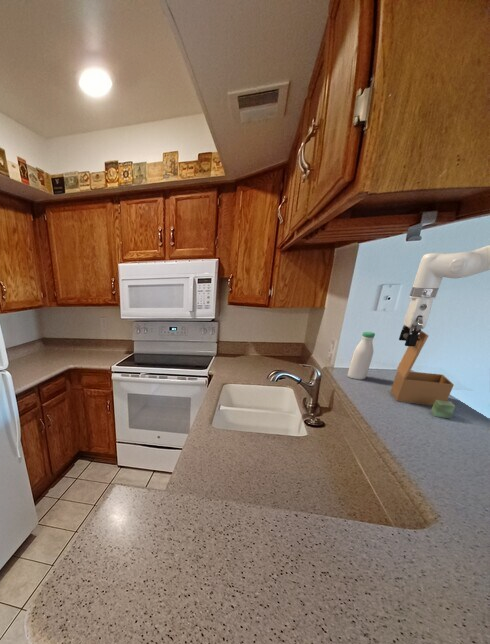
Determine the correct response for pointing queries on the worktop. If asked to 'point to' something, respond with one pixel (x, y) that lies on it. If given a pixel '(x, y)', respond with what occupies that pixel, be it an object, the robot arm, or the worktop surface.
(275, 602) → the worktop surface
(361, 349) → the milk bottle
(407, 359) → the flap
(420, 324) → the robot arm
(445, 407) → the block
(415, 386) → the carton
